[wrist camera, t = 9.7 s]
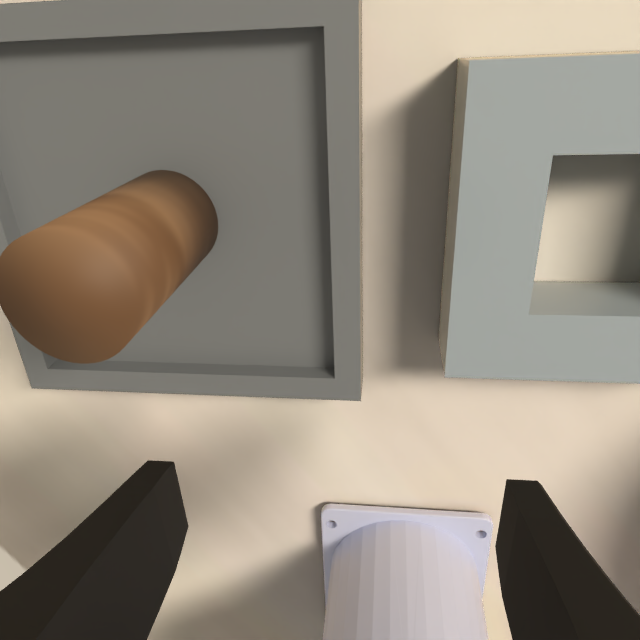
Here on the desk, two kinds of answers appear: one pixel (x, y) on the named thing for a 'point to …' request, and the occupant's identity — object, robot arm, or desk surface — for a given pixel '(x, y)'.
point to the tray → (202, 178)
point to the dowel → (106, 266)
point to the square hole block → (532, 220)
